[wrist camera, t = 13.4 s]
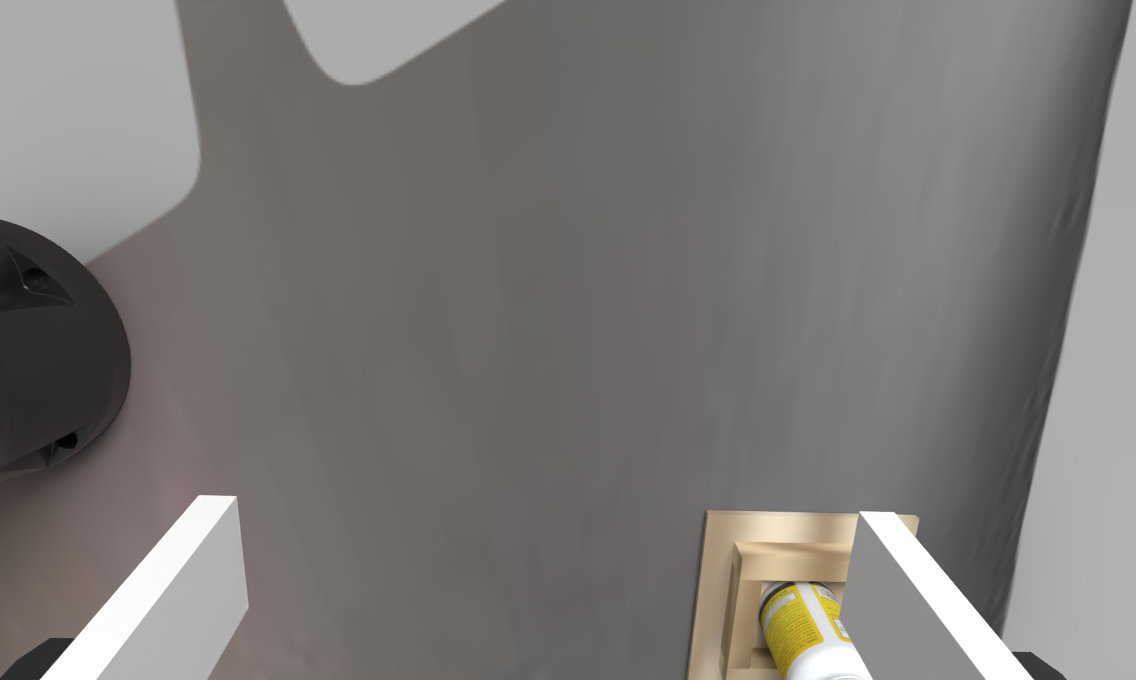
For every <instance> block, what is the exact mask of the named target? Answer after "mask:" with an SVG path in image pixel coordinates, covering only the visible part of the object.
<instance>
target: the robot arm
mask: <svg viewBox="0 0 1136 680" xmlns="http://www.w3.org/2000/svg"><path fill="white" fill-rule="evenodd" d="M129 376H130V355H129V347H128V342H127V338H126V334H125V330H124V327H123V325H122V322H121V319H120V317H119V315H118V312H117V311H116V309H115V307H114V305H113V303H112V301H111V300H110V298H109V296H108V295H107V293H106V292H105V290H104V289H103V288H102V286H101V285H100V284H99V282H98V281H97V280H96V279H95V277H94V276H93V275H92V274H91V273H90V272H89V271H88V270H87V269H86V268H85V267H84V266H83V265H82V264H81V263H80V262H79V261H78V260H77V259H75V258H74V257H73V256H72V255H71V254H69V253H68V252H67V251H65V250H64V249H63V248H61V247H60V246H58V245H57V244H55V243H54V242H52V241H50V240H49V239H47V238H45V237H44V236H42V235H40V234H38V233H36V232H34V231H32V230H29V229H27V228H24V227H22V226H19V225H16V224H13V223H10V222H7V221H3V220H0V481H4V480H8V479H12V478H15V477H19V476H23V475H27V474H31V473H34V472H38V471H41V470H44V469H46V468H49V467H51V466H53V465H56V464H58V463H60V462H62V461H64V460H65V459H67V458H69V457H71V456H72V455H73V454H75V453H76V452H78V451H79V450H80V449H82V448H83V447H84V446H85V445H87V444H88V443H89V442H91V441H92V440H93V439H95V438H96V437H97V436H98V435H99V434H101V433H102V432H103V431H104V430H105V429H106V428H107V427H108V425H109V424H110V423H111V422H112V420H113V419H114V417H115V416H116V415H117V413H118V411H119V409H120V407H121V405H122V403H123V400H124V398H125V395H126V392H127V387H128V383H129ZM248 608H249V606H248V597H247V587H246V578H245V569H244V560H243V550H242V541H241V532H240V522H239V513H238V504H237V496H206V495H199V496H198V497H197V498H196V499H195V501H194V502H193V503H192V504H191V505H190V506H189V507H188V509H187V510H186V511H185V512H184V513H183V514H182V516H181V517H180V518H179V519H178V520H177V521H176V523H175V524H174V525H173V526H172V527H171V528H170V530H169V531H168V532H167V533H166V534H165V535H164V536H163V538H162V539H161V540H160V541H159V542H158V543H157V545H156V546H155V547H154V548H153V549H152V550H151V552H150V553H149V554H148V555H147V556H146V557H145V559H144V560H143V561H142V562H141V563H140V564H139V565H138V567H137V568H136V569H135V570H134V571H133V572H132V574H131V575H130V576H129V577H128V578H127V579H126V581H125V582H124V583H123V584H122V585H121V586H120V587H119V589H118V590H117V591H116V592H115V593H114V594H113V596H112V597H111V598H110V599H109V600H108V601H107V603H106V604H105V605H104V606H103V607H102V608H101V610H100V611H99V612H98V613H97V614H96V615H95V616H94V618H93V619H92V620H91V621H90V622H89V623H88V625H87V626H86V627H85V628H84V629H83V630H82V632H81V633H80V634H79V635H78V636H77V637H76V638H50V639H48V640H47V641H45V642H44V643H42V644H41V645H39V646H38V647H36V648H35V649H33V650H32V651H30V652H28V653H27V654H25V655H24V656H22V657H21V658H19V659H18V660H16V662H15V663H14V664H13V665H12V666H11V667H10V668H9V669H8V670H7V671H6V672H5V673H4V674H3V676H2V677H1V678H0V680H207V679H208V677H209V675H210V674H211V672H212V670H213V668H214V667H215V665H216V663H217V661H218V660H219V658H220V656H221V655H222V653H223V651H224V649H225V648H226V646H227V644H228V642H229V641H230V639H231V637H232V635H233V634H234V632H235V630H236V629H237V627H238V625H239V623H240V622H241V620H242V618H243V616H244V615H245V613H246V611H247V609H248ZM839 620H840V622H841V623H842V625H843V627H844V629H845V630H846V632H847V634H848V636H849V638H850V639H851V641H852V643H853V645H854V647H855V648H856V650H857V652H858V654H859V655H860V657H861V659H862V661H863V663H864V664H865V666H866V668H867V670H868V672H869V673H870V675H871V677H872V679H873V680H1067V679H1066V678H1065V677H1064V676H1063V675H1062V674H1061V673H1059V672H1058V671H1057V670H1055V669H1054V668H1052V667H1051V666H1050V665H1048V664H1047V663H1045V662H1044V661H1043V660H1041V659H1040V658H1038V657H1037V656H1035V655H1034V654H1033V653H1031V652H1010V651H1009V649H1008V648H1007V647H1006V646H1005V645H1004V643H1003V642H1002V641H1001V640H1000V639H999V637H998V636H997V635H996V634H995V633H994V631H993V630H992V629H991V628H990V627H989V625H988V624H987V623H986V622H985V621H984V619H983V618H982V617H981V616H980V615H979V613H978V612H977V611H976V610H975V609H974V607H973V606H972V605H971V604H970V603H969V601H968V600H967V599H966V598H965V597H964V595H963V594H962V593H961V592H960V591H959V589H958V588H957V587H956V586H955V585H954V583H953V582H952V581H951V580H950V579H949V577H948V576H947V575H946V574H945V573H944V571H943V570H942V569H941V568H940V567H939V565H938V564H937V563H936V562H935V561H934V559H933V558H932V557H931V556H930V555H929V553H928V552H927V551H926V550H925V549H924V547H923V546H922V545H921V544H920V543H919V541H918V540H917V539H916V538H915V537H914V535H913V534H912V533H911V532H910V531H909V529H908V528H907V527H906V526H905V525H904V523H903V522H902V521H901V520H900V519H899V518H898V516H897V515H896V514H895V513H894V512H859V515H858V520H857V526H856V531H855V536H854V541H853V546H852V552H851V557H850V562H849V567H848V572H847V577H846V583H845V588H844V593H843V598H842V603H841V609H840V614H839Z"/></svg>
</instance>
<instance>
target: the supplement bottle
mask: <svg viewBox="0 0 1136 680" xmlns="http://www.w3.org/2000/svg"><path fill="white" fill-rule="evenodd" d="M840 609H841V605H840V603H839V601H838V600H837V598H836V596H835V595H834V593H833V592H832V590H831V589H830V588H829V587H828V586H827V585H826V584H825V583H824V582H822V581H778V582H776V583H774V584H773V585H772V586H770V587H769V588H768V589H767V590H766V591H765V593H764V594H763V596H762V598H761V600H760V603H759V610H758V619H759V623H760V626H761V629H762V632H763V634H764V636H765V639H766V641H767V644H768V646H769V649H770V651H771V653H772V656H773V658H774V661H775V663H776V665H777V668H778V670H779V673H780V675H781V678H782V680H873V679H872V677H871V675H870V673H869V672H868V670H867V668H866V666H865V664H864V663H863V661H862V659H861V657H860V655H859V654H858V652H857V650H856V648H855V647H854V645H853V643H852V641H851V639H850V638H849V636H848V634H847V632H846V630H845V629H844V627H843V625H842V623H841V622H840V620H839V614H840Z"/></svg>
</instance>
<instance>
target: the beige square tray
mask: <svg viewBox="0 0 1136 680" xmlns="http://www.w3.org/2000/svg"><path fill="white" fill-rule="evenodd" d="M858 515H859V514H845V513H803V512H762V511H720V510H706V517H705V526H704V534H703V543H702V551H701V560H700V568H699V576H698V585H697V593H696V602H695V610H694V619H693V627H692V636H691V644H690V652H689V661H688V669H687V678H686V680H782V678H781V675H780V673H779V670H778V668H777V665H776V663H775V661H774V658H773V656H772V653H771V651H770V649H769V646H768V644H767V641H766V639H765V636H764V634H763V632H762V629H761V626H760V623H759V619H758V610H759V603H760V600H761V598H762V596H763V594H764V593H765V591H766V590H767V589H768V588H769V587H770V586H772V585H773V584H774V583H776V582H778V581H822V582H824V583H825V584H826V585H827V586H828V587H829V588H830V589H831V590H832V592H833V593H834V595H835V596H836V598H837V600H838V601H839V603H840V605H841V603H842V598H843V593H844V588H845V583H846V577H847V572H848V567H849V562H850V557H851V552H852V546H853V541H854V536H855V531H856V526H857V520H858ZM897 516H898V518H899V519H900V520H901V521H902V522H903V523H904V525H905V526H906V527H907V528H908V529H909V531H910V532H911V533H912V534H913V535H914V537H916V532H917V528H918V523H919V518H918V517H917V516H916V515H897Z"/></svg>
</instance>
